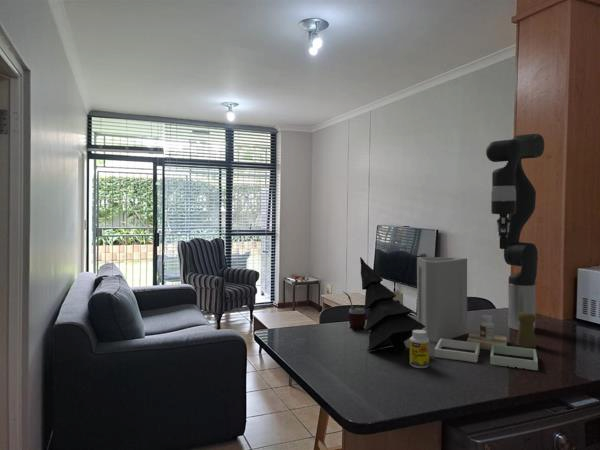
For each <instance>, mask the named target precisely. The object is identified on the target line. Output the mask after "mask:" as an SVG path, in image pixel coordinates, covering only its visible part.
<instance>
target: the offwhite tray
mask: <svg viewBox="0 0 600 450" xmlns="http://www.w3.org/2000/svg"><path fill="white" fill-rule="evenodd" d="M443 347H444V348H445V349H444V348H443ZM442 348H443V349H442ZM446 348H451V350H450V349H446ZM452 349H458V350H452ZM460 350H465V351H460ZM466 350H468V351H473V352H468V351H466ZM480 351H481V349H480V343H476V342H467V340H457V339H456V340H455V339H441V338H440V340H439V342H438V343H436V346H435V347H434V357H435V358H440V359H447V360H448V359H449V360H455V361H463V362H471V363H478V361H479V357H478V356H479V355H480Z"/></svg>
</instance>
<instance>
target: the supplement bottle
mask: <svg viewBox="0 0 600 450" xmlns="http://www.w3.org/2000/svg"><path fill="white" fill-rule="evenodd" d="M412 335H413V336H412V337H410V338H409V365H410V366H411V367H412V368H417V369H426V368H428V367H429V366H430V341H429V339H428V338H427V337H426V336H427V335H426V331H424V330H413V334H412Z"/></svg>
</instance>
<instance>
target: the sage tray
mask: <svg viewBox="0 0 600 450" xmlns="http://www.w3.org/2000/svg"><path fill="white" fill-rule="evenodd" d="M495 354H501V355H508V357H507V356H500V355H495ZM509 355H510V356H515V357H509ZM537 355H538V354H537V349H536V348H526V347H521V346H519V347H518V346H511V345H509V346H508V345H507V346H502V345H493V344H492V347H491V350H490V356H489V359H490V361H489V363H490V365H493V366H501V367H507V366H509V368H515V367H517V368H516V369H523V368H524V370H525V369H526V370H533V371H539V362H538V361H539V360H538V356H537ZM517 356H518V357H525V358H532V360H531V359H524V358H517Z"/></svg>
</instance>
